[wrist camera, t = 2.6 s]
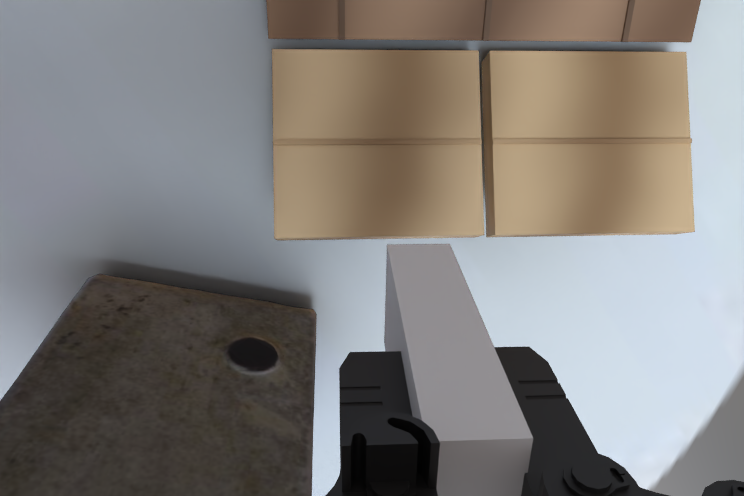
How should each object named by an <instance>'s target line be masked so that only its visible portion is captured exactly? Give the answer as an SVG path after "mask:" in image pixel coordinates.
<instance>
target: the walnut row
mask: <svg viewBox="0 0 744 496" xmlns="http://www.w3.org/2000/svg"><path fill="white" fill-rule="evenodd" d="M700 1H701V0H266V2H267V20H268V38H269V39H339V40H345V39H370V40H483V41H489V40H493V41H615V42H691V41H692V36H693V32H694V28H695V23H696V19H697V14H698V10H699V6H700Z"/></svg>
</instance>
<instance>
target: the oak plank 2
mask: <svg viewBox="0 0 744 496" xmlns="http://www.w3.org/2000/svg"><path fill="white" fill-rule="evenodd" d="M481 70H482V104H483V138H484V172H485V205H486V237H528V236H593V235H658V234H681V233H689V232H695V229H694V208H693V187H692V165H691V144H690V143H692V138H690V122H689V101H688V80H687V58H686V52H616V51H489V53H488V54H487V55H486V57H485V58H484V60H483V61H482V63H481Z"/></svg>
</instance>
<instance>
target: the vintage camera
mask: <svg viewBox="0 0 744 496" xmlns="http://www.w3.org/2000/svg"><path fill="white" fill-rule="evenodd" d="M315 352H316V313H315V311H314V310H313V309H306V308H298V307H290V306H285V305H281V304H277V303H273V302H267V301H260V300H254V299H248V298H242V297H235V296H229V295H223V294H216V293H211V292H205V291H200V290H193V289H186V288H180V287H175V286H170V285H164V284H159V283H153V282H146V281H140V280H133V279H126V278H119V277H114V276H108V275H103V274H97V275H95V276H93V277H90V278H88V280H87V281H86V282H85V284H84V285H83V286H82V288H81V289H80V291H79V292H78V293H77V295H76V296H75V297H74V299H73V300H72V301H71V303H70V304H69V305H68V307H67V308H66V309H65V311H64V312H63V313H62V315H61V316H60V318H59V319H58V321H57V322H56V324H55V325H54V326H53V328H52V329H51V331H50V332H49V334H48V335H47V336H46V338H45V339H44V341H43V342H42V343H41V345H40V346H39V348H38V349H37V351H36V352H35V353H34V355H33V356H32V358H31V359H30V361H29V362H28V363H27V365H26V366H25V368H24V369H23V371H22V372H21V373H20V375H19V376H18V378H17V379H16V381H15V382H14V383H13V385H12V386H11V387H10V389H9V390H8V391H7V393H6V394H5V395H4V397H3V398H2V399H1V401H0V496H312V454H313V417H314V385H315Z"/></svg>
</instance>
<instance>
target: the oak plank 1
mask: <svg viewBox="0 0 744 496" xmlns="http://www.w3.org/2000/svg"><path fill="white" fill-rule="evenodd" d="M272 88H273V172H274V238H275V239H276V240H333V239H398V238H463V237H479V236H482V235H484V216H483V182H482V148H481V144H482V139H481V113H480V79H479V51H472V50H328V49H272Z"/></svg>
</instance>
